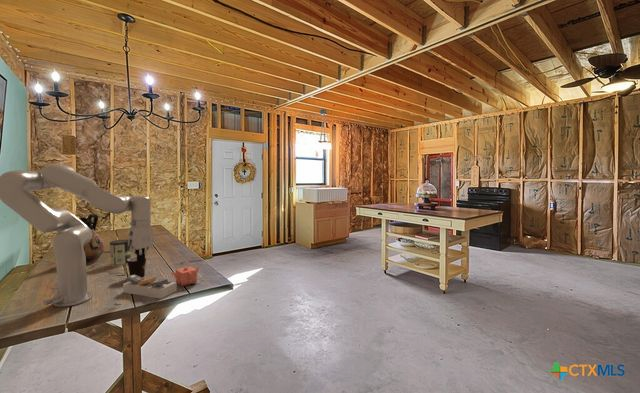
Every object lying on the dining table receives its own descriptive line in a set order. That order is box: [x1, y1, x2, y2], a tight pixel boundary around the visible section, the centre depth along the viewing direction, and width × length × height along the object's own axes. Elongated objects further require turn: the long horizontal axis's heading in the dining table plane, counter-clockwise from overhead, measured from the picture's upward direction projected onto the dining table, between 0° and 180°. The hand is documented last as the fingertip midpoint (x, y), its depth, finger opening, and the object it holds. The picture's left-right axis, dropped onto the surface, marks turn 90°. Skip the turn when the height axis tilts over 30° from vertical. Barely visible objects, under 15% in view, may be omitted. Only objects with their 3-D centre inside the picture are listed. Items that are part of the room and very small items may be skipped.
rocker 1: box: [126, 274, 145, 284], centre depth 132 cm, size 4×6×2 cm, turn 74°
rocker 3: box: [150, 278, 168, 286], centre depth 128 cm, size 4×6×2 cm, turn 74°
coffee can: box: [109, 239, 132, 267], centre depth 172 cm, size 10×10×14 cm
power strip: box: [122, 277, 178, 299], centre depth 132 cm, size 9×27×4 cm, turn 74°
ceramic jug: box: [79, 213, 105, 265], centre depth 176 cm, size 17×15×30 cm
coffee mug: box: [127, 256, 147, 278], centre depth 151 cm, size 12×9×10 cm
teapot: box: [170, 265, 201, 287], centre depth 142 cm, size 12×15×8 cm
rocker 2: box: [138, 276, 157, 285], centre depth 130 cm, size 4×6×2 cm, turn 74°
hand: (140, 262), depth 129 cm, fingers closed
